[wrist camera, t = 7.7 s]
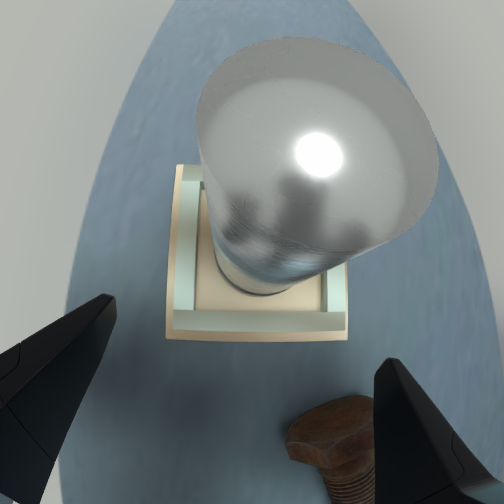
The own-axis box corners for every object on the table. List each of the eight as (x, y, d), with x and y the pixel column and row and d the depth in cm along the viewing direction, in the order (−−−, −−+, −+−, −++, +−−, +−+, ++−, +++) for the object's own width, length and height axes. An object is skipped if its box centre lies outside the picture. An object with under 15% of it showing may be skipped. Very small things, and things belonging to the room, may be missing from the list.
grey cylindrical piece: (315, 282, 18) (473, 214, 5) (229, 308, 17) (238, 292, 5) (287, 200, 18) (374, 35, 6) (204, 222, 18) (171, 53, 5)
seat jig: (340, 338, 18) (355, 341, 16) (169, 337, 17) (161, 340, 15) (335, 180, 20) (347, 164, 18) (179, 173, 19) (174, 155, 17)
